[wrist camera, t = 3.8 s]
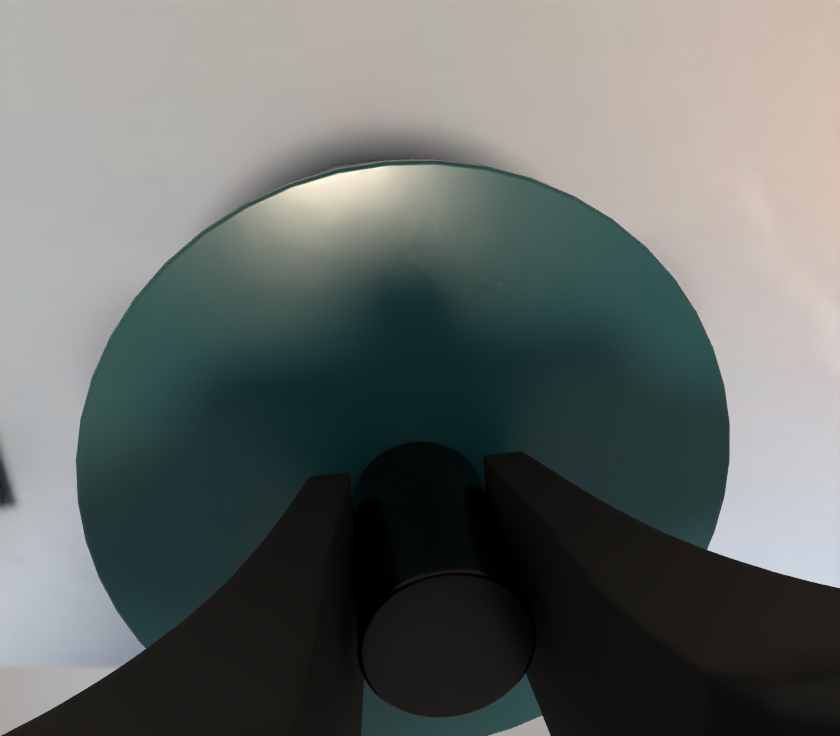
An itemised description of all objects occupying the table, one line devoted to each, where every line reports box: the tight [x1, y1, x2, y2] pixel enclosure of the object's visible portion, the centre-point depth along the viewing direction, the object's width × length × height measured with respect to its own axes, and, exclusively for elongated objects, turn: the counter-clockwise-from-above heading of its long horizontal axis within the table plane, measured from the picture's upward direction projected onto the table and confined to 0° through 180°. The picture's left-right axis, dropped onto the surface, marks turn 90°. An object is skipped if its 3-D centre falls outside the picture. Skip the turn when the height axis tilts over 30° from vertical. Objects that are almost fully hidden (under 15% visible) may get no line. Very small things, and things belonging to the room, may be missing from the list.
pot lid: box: [76, 159, 729, 736], centre depth 11 cm, size 11×11×5 cm
